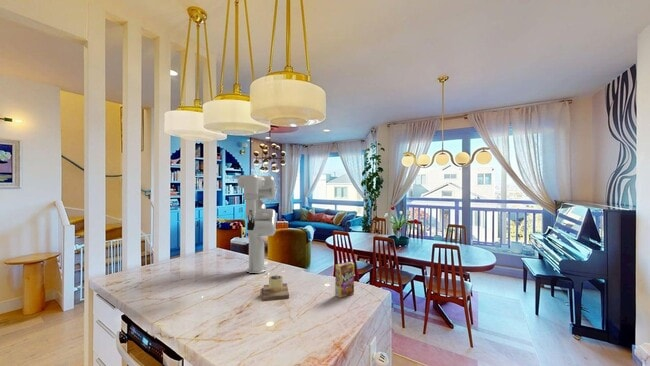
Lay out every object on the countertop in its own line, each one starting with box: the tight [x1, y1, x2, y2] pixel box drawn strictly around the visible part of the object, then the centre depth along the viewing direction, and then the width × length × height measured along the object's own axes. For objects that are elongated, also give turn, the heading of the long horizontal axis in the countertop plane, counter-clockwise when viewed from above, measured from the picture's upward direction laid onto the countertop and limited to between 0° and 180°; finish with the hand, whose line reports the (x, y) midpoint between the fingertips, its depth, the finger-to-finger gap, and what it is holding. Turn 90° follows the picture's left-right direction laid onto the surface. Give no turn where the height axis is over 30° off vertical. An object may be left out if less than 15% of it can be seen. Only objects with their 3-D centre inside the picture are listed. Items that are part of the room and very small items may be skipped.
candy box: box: [334, 261, 355, 299], centre depth 127 cm, size 9×4×15 cm, turn 123°
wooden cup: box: [268, 274, 284, 292], centre depth 130 cm, size 7×7×6 cm
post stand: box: [262, 275, 290, 301], centre depth 130 cm, size 16×12×8 cm
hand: (251, 228), depth 141 cm, fingers open, 9 cm apart
